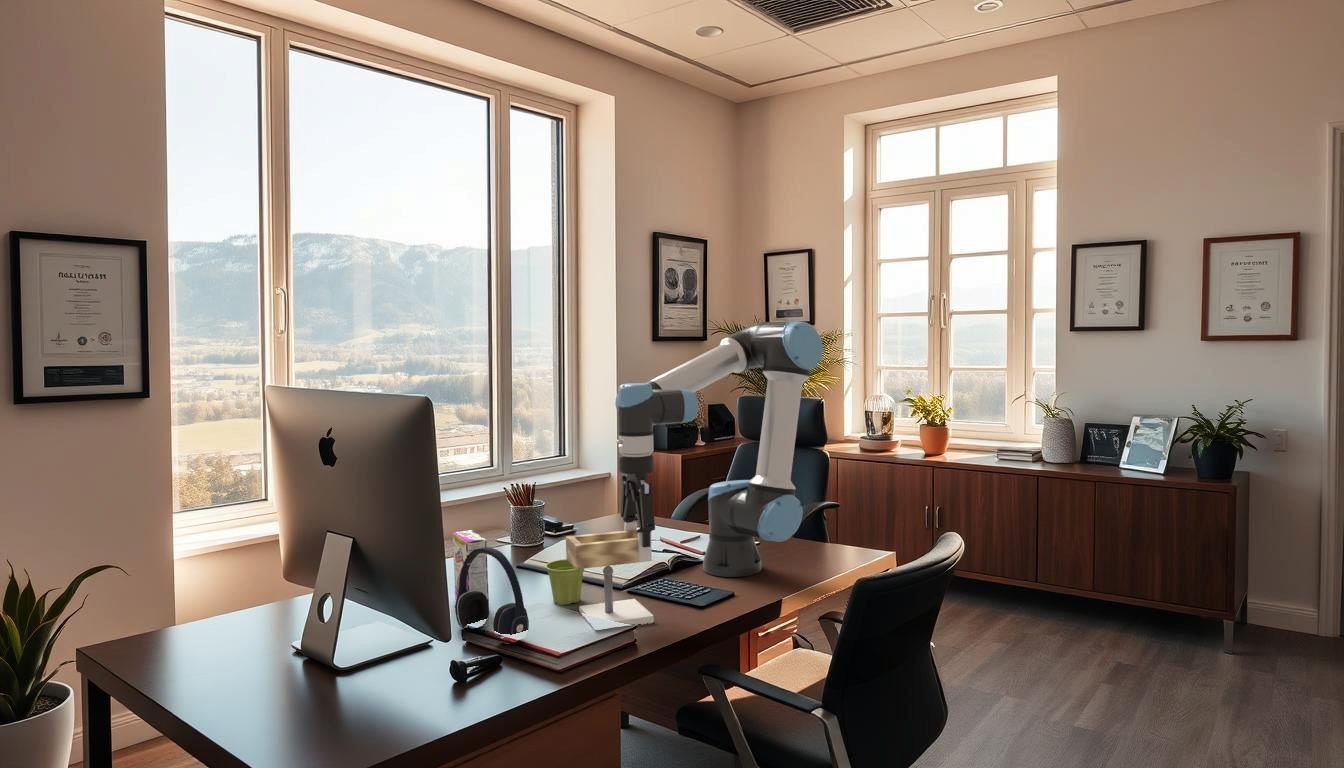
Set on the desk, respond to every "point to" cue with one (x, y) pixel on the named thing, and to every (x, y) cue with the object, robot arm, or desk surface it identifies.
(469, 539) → the candy bar box
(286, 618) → the desk surface
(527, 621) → the headphones
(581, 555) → the wooden planter box
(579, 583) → the plant pot
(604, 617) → the peg stand
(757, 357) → the robot arm
